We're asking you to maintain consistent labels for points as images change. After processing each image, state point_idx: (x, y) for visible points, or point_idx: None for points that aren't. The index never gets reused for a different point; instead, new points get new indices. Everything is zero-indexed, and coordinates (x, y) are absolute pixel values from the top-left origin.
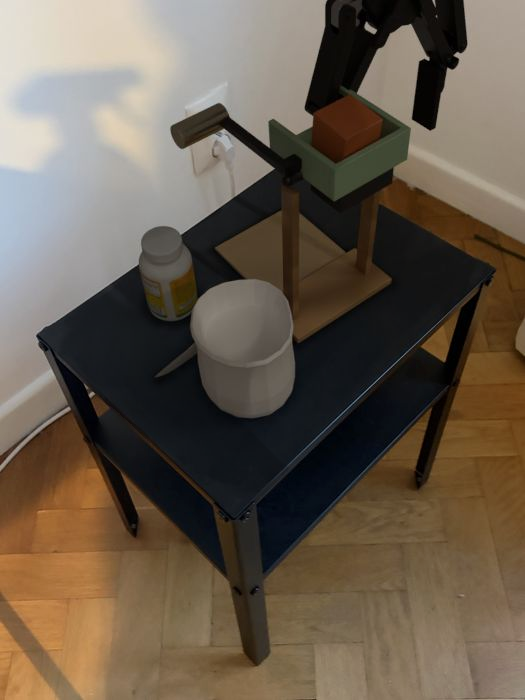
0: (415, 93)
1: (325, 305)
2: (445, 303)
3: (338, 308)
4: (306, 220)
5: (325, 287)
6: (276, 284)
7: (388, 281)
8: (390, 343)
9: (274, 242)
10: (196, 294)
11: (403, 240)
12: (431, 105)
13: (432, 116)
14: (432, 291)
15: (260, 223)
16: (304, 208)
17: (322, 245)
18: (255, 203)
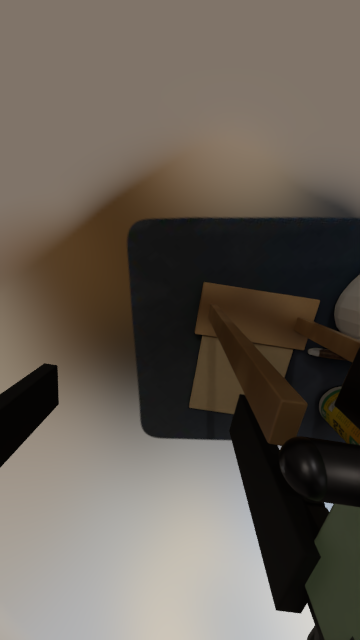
0: (17, 447)
1: (271, 308)
2: (189, 225)
3: (267, 296)
4: (194, 386)
5: (253, 322)
6: (273, 356)
7: (208, 283)
8: (265, 234)
9: (234, 389)
10: (336, 396)
11: (150, 307)
12: (17, 403)
13: (35, 382)
14: (184, 245)
15: (224, 411)
16: (181, 396)
17: (209, 357)
18: (205, 428)
